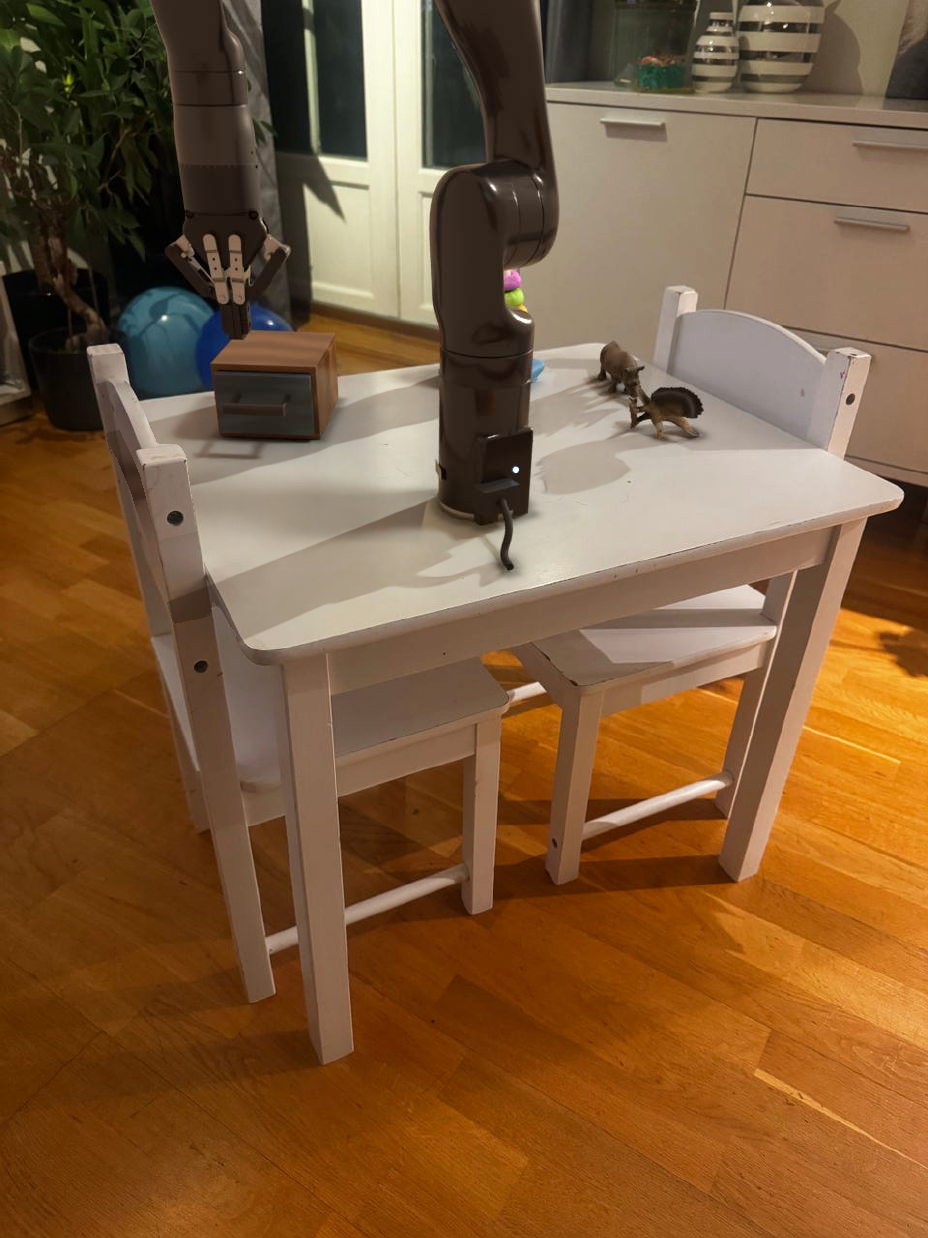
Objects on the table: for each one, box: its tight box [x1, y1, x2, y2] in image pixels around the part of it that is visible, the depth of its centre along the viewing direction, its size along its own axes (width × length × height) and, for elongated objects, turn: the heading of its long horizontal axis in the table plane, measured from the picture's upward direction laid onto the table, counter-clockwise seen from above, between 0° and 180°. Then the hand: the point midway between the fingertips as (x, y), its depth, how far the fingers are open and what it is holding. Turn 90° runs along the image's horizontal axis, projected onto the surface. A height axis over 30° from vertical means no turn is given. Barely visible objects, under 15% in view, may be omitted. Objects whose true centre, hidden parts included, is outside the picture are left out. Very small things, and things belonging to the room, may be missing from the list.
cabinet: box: [210, 329, 340, 440], centre depth 117 cm, size 15×13×9 cm
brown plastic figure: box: [628, 386, 705, 440], centre depth 117 cm, size 8×7×9 cm
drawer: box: [214, 370, 315, 436], centre depth 114 cm, size 19×11×7 cm, turn 178°
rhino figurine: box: [597, 340, 646, 399], centre depth 130 cm, size 4×14×6 cm, turn 10°
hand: (238, 337), depth 98 cm, fingers closed
